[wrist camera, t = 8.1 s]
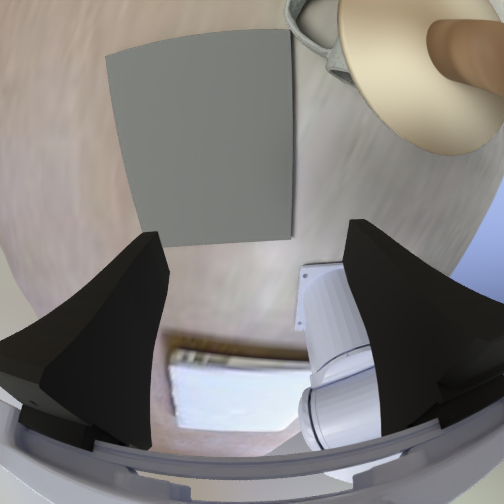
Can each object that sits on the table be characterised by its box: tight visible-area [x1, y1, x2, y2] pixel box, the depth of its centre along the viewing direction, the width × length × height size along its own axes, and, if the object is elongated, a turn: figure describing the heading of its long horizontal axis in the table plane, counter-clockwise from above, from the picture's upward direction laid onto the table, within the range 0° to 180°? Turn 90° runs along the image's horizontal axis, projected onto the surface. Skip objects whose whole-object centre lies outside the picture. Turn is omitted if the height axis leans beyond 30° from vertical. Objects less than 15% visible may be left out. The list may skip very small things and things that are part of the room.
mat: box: [105, 29, 293, 247], centre depth 18 cm, size 16×12×1 cm
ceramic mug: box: [284, 0, 357, 88], centre depth 10 cm, size 11×8×8 cm
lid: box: [337, 0, 504, 156], centre depth 6 cm, size 10×10×4 cm
